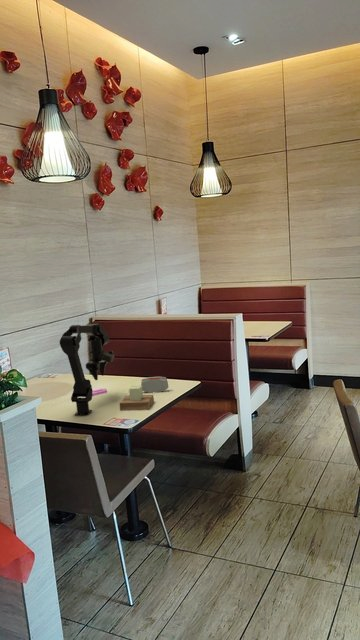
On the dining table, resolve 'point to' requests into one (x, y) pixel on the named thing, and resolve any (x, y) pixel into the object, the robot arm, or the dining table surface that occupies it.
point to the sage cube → (136, 393)
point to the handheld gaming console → (154, 384)
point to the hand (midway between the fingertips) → (99, 377)
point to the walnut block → (137, 403)
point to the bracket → (99, 392)
